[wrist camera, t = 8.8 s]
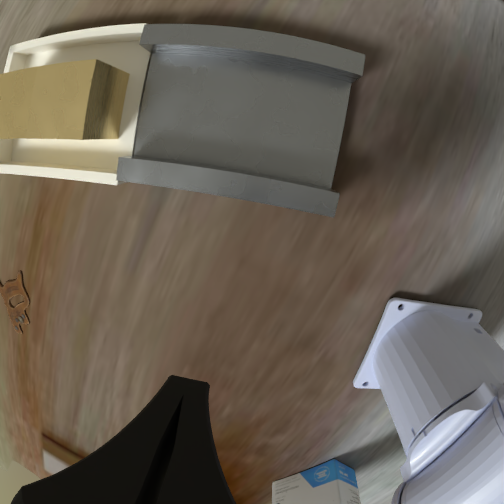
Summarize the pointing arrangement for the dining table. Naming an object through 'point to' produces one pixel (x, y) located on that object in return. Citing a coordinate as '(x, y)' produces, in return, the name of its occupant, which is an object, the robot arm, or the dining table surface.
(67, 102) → the brass chip
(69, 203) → the dining table surface
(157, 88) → the rail
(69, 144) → the tray
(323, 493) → the ink box
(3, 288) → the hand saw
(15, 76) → the brass chip
